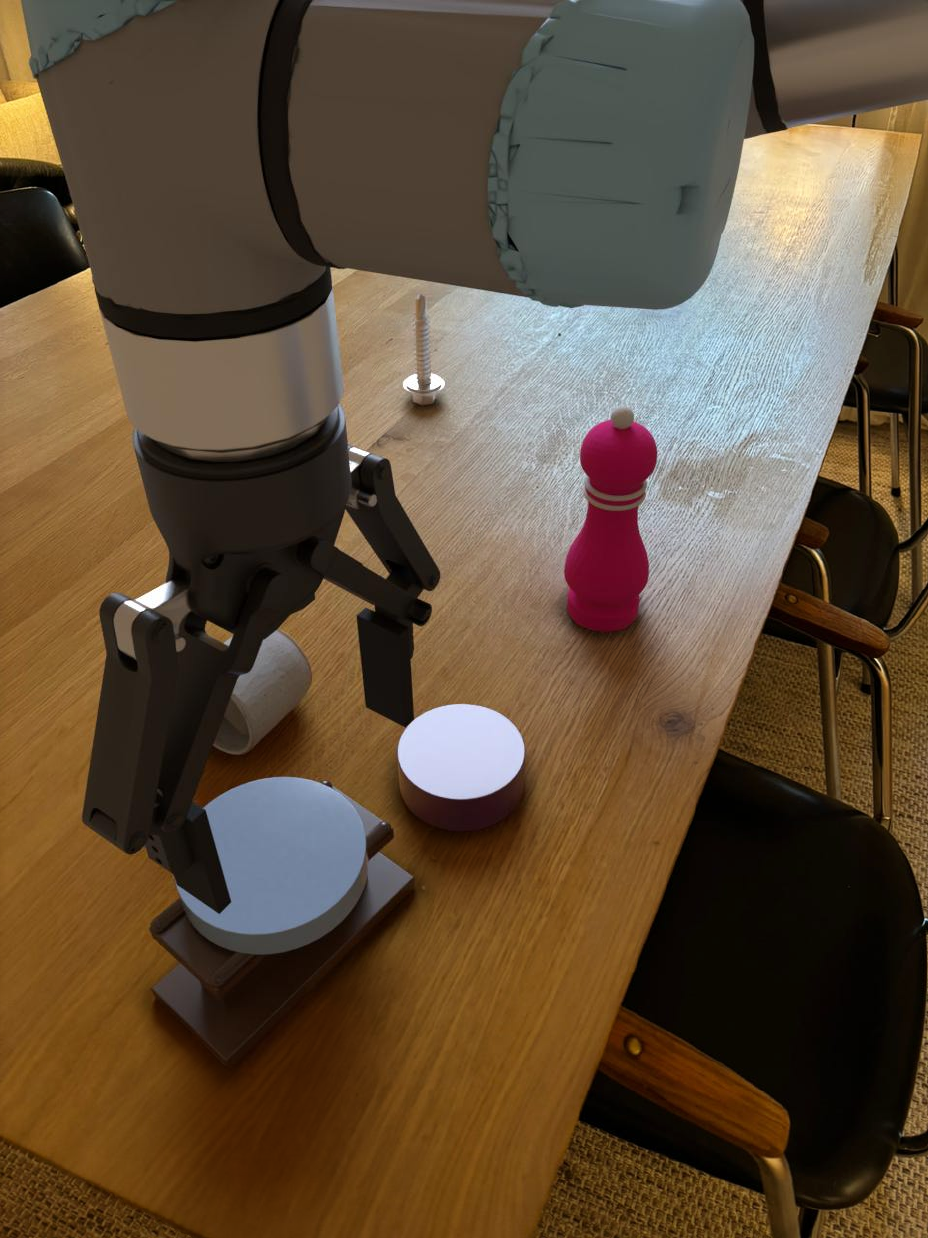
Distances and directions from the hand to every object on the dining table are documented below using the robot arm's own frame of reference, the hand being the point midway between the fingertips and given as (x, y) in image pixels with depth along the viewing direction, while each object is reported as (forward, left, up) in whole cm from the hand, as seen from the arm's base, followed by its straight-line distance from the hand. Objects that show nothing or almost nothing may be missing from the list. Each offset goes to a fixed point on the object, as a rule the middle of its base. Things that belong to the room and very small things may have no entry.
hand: (305, 796), depth 49 cm
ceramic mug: (+23, -11, -18) cm, 31 cm away
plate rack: (+5, 0, -18) cm, 19 cm away
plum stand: (+5, -17, -18) cm, 26 cm away
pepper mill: (+8, -40, -18) cm, 45 cm away
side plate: (+5, 0, -11) cm, 12 cm away
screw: (+46, -59, -18) cm, 77 cm away
